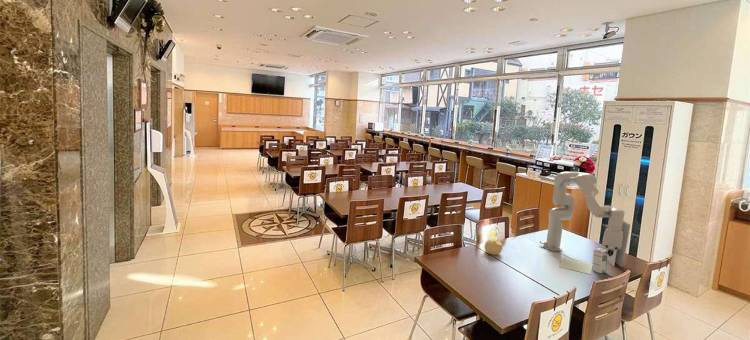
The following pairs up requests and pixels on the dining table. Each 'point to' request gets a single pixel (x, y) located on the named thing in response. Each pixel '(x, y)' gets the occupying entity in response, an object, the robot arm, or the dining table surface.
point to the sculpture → (493, 246)
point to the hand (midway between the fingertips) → (609, 255)
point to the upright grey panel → (620, 253)
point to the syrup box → (599, 260)
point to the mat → (576, 265)
